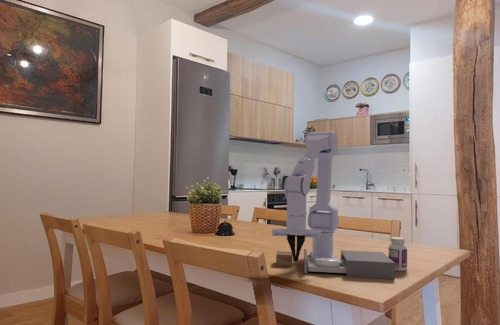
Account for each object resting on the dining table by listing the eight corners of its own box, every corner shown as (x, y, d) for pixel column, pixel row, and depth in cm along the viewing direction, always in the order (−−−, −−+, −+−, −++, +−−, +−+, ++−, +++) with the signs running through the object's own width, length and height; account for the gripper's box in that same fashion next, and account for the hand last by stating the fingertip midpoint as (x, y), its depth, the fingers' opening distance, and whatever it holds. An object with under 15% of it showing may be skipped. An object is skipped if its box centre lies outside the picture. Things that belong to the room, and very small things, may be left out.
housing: (340, 264, 118) (340, 250, 118) (382, 266, 116) (382, 252, 116) (346, 276, 104) (347, 260, 104) (394, 279, 102) (394, 262, 102)
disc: (312, 263, 113) (312, 257, 113) (337, 264, 113) (337, 258, 114) (317, 266, 105) (317, 260, 106) (345, 267, 105) (345, 261, 106)
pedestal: (276, 261, 120) (277, 251, 120) (292, 262, 119) (292, 251, 119) (276, 265, 115) (276, 254, 115) (292, 266, 114) (292, 255, 114)
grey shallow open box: (303, 262, 119) (303, 249, 119) (344, 264, 117) (344, 251, 118) (304, 273, 106) (304, 258, 106) (350, 275, 104) (350, 261, 104)
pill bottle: (402, 267, 116) (402, 236, 117) (410, 271, 111) (410, 239, 111) (385, 266, 116) (385, 236, 117) (392, 271, 111) (392, 239, 111)
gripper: (271, 215, 107) (270, 262, 107) (321, 217, 105) (321, 265, 105) (272, 213, 114) (272, 257, 114) (320, 215, 112) (319, 259, 112)
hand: (295, 260), depth 110 cm, fingers closed
